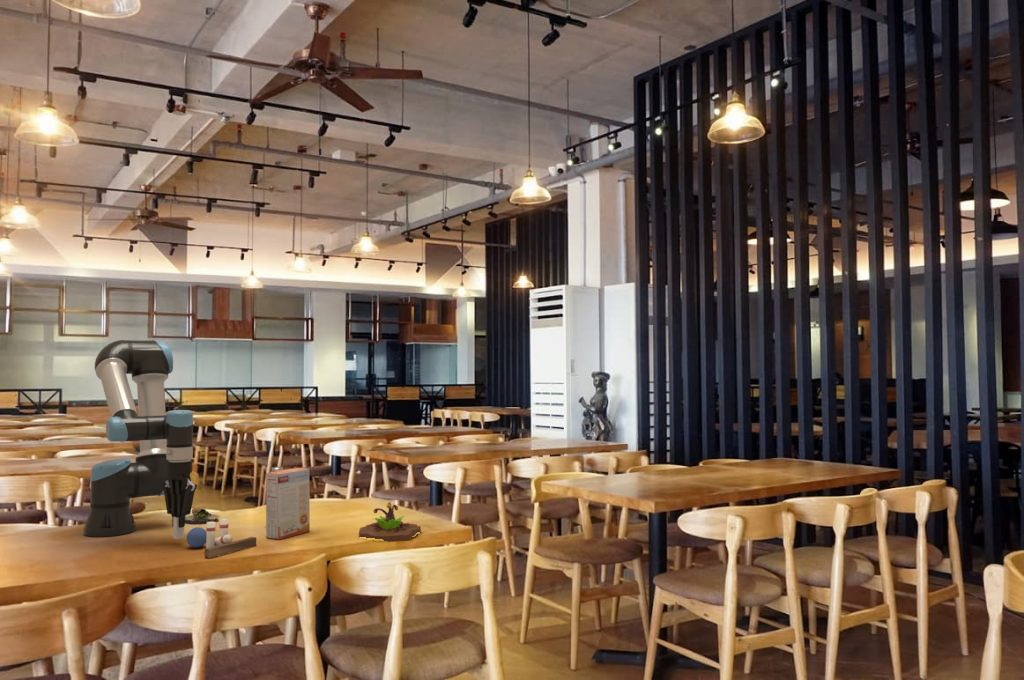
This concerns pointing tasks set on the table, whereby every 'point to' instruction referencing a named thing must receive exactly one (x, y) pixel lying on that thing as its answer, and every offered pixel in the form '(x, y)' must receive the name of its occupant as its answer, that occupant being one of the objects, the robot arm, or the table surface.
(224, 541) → the front pin
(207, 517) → the dish garden
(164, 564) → the table surface
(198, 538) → the ball
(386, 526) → the plant
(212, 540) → the back pin right
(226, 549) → the back rail
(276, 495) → the cracker box
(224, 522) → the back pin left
